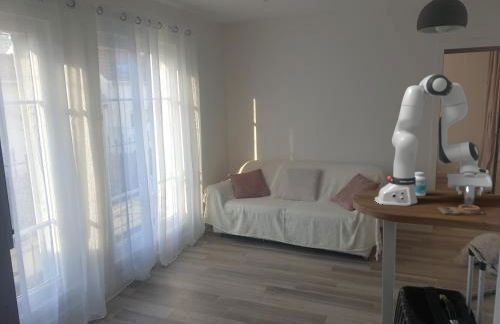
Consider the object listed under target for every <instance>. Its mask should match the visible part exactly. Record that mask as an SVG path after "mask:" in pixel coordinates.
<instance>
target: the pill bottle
mask: <svg viewBox="0 0 500 324" xmlns="http://www.w3.org/2000/svg"><path fill="white" fill-rule="evenodd" d="M424 175H425V173H424V172H423V171H415V177H416V185H415V193H416V197H425V196H426V194H427V177H426V176H424Z"/></svg>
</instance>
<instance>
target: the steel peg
mask: <svg viewBox="0 0 500 324" xmlns="http://www.w3.org/2000/svg"><path fill="white" fill-rule="evenodd" d="M475 193H476V189H475V185H465V189H464V195H463V196H464V197H463V199H464V200H463V204H468V205H475V197H476V196H475Z"/></svg>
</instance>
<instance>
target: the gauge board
mask: <svg viewBox="0 0 500 324" xmlns="http://www.w3.org/2000/svg"><path fill="white" fill-rule="evenodd" d="M437 210H438V211H439V212H440V213H442V214H443V215H444V216H485V212H484V211H482V210H481V208H480V207H479V206H478V205H475V204H474V205H468V204H464V203H463V204H459V205H458V206H437Z"/></svg>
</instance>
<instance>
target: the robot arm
mask: <svg viewBox="0 0 500 324" xmlns="http://www.w3.org/2000/svg"><path fill="white" fill-rule="evenodd" d="M429 96H430V97H436V96H438V97H439V98H440V99H441V101H442V106H443V111H442V112H443V113H442V115H441V116H440V117H439V119H438V130H437V131H438V132H437V133H438V150H437V157H438V160H439V161H440V162H441V163H443V164H452V163H457V162H459V165H460V166H459V172H449V173H447V174H446V178H447V179H448V180H447V187H448V188H449V189H455V191H456V192H457V193H458V194H457V195H458V196H462V194H463V191H462V189H463V190H465V185H475V190H477V193H476V194H477V197H481V196H482V193H483V192H484V191H491V190H492V189H493V180H492V177H491V175H490V174H489V173H490V171H489V170H488V169H485V168H481V167H479V165H478V164H479V158H480V156H479V155H480V154H479V153H480V152H479V147H478V146H477V145H476V144H475V143H473V142H471V141H467V142H460V143H453V144H448V129H449V127H451V126H452V125H454V124H455V123H458V122H459V121H462V119H464V118H465V117H466V115H467V114H468V111H469V107H468V100H467V97H466V94H465V90H464V88H463V85H461V84H460V83H459V82H452V81H450V80H449V79H448V78H447V76H445V75H443V74H440V73H437V74H435V73H434V74H429V75H426V76H425V77H423V78H422V79H421V80H420V81H419V82H418V83H417V85H416V84H414V85H411V86H408V87H407V88H406V90H405V92H404V95H403V97H402V101H401V106H400V108H399V109H400V110H399V114H398V118H397V119H398V120H397V122H396V125H395V128H394V131H393V134H392V137H391V143H392V146H393V148H394V149H395V152H394V160H393V168H392V169H393V173H392V174H393V175H392V176H390V175H388V176H387V180H389V182H388V183H387V184H385V185H384V186H382V188H380V190H379V191H378V196H375V197H374V199H375V200H374V202H375V201H376V202H377V203H376V202H375V203H376V204H378V203H379V204H378V205H382V204H383V205H385V206H403V207H406V206H412V205H414V204H415V205H416V204H417V203H418V199H417V196H416V193H415V185H416V177H415V172H416V160H417V155H418V148H419V145H420V144H419V140H418V137H417V136H416V132H417V130H418V127H419V125H420V123H421V121H422V117H423V116H422V115H423V111H424V107H425V102H426V99H427V98H428V97H429ZM460 189H461V190H460ZM478 190H479V191H478ZM383 205H382V206H383Z"/></svg>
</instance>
